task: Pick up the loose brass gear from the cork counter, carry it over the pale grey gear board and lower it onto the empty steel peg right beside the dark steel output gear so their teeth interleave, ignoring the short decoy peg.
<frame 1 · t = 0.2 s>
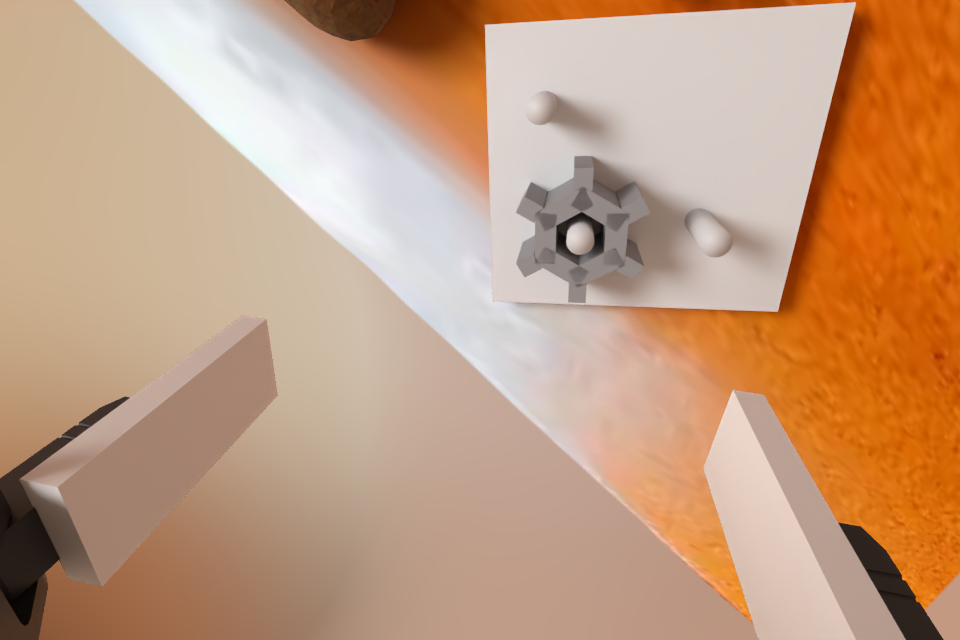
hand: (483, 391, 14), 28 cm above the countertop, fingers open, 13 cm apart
gear board: (638, 173, 37), on the countertop
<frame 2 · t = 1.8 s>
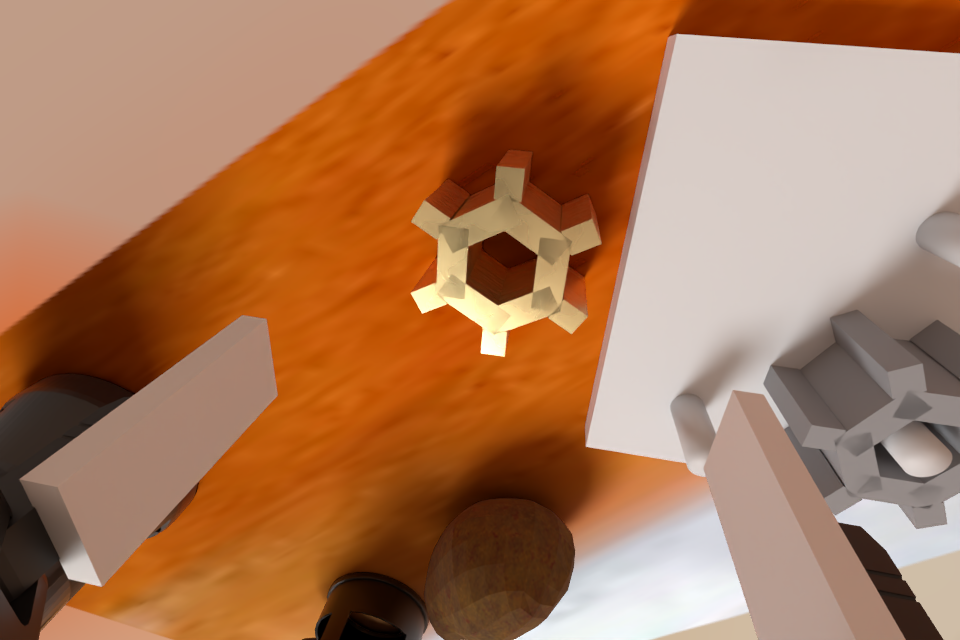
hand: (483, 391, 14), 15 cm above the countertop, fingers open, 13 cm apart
brass gear: (511, 237, 27), on the countertop
french press: (374, 605, 45), on the countertop
gear board: (812, 291, 26), on the countertop
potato: (496, 516, 37), on the countertop
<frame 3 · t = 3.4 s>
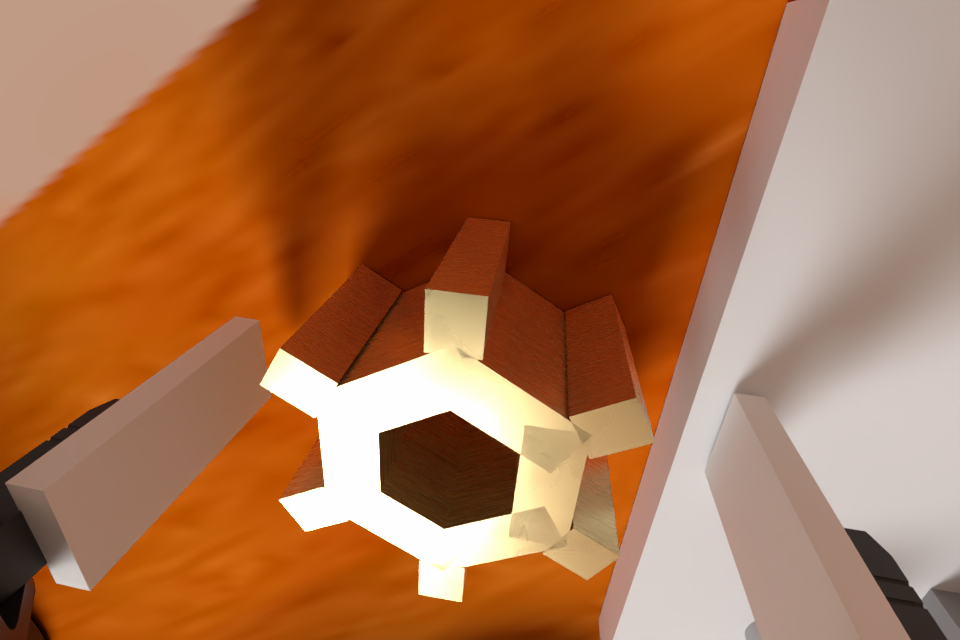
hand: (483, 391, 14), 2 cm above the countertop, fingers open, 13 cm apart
brass gear: (477, 360, 16), on the countertop
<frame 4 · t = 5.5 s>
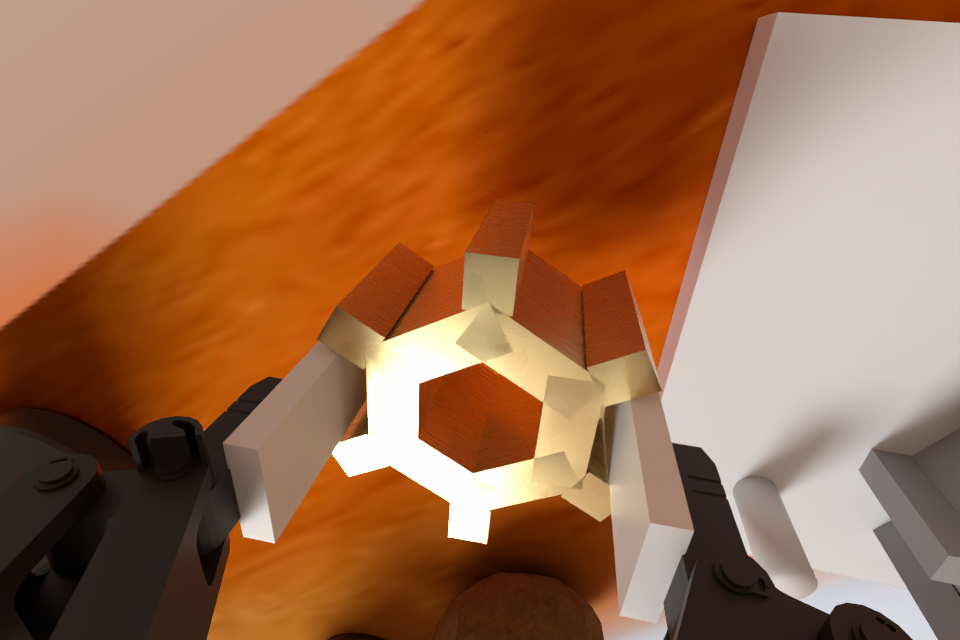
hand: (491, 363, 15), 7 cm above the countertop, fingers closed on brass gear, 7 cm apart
brass gear: (501, 331, 17), point 5 cm above the countertop, touching gripper
gear board: (930, 354, 20), on the countertop
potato: (510, 587, 32), on the countertop
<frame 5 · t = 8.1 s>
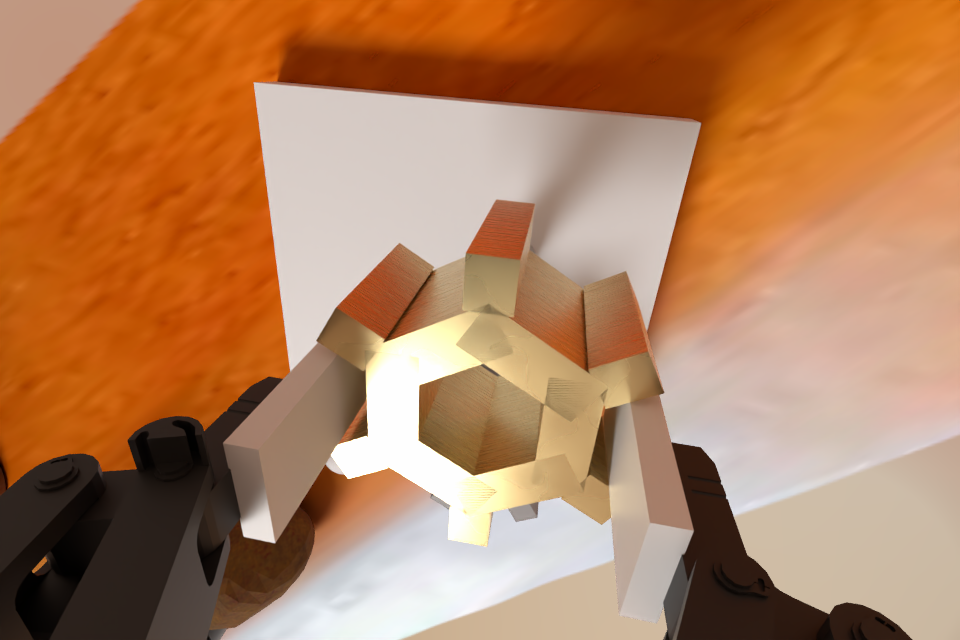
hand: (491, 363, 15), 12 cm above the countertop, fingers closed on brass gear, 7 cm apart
brass gear: (501, 332, 17), point 10 cm above the countertop, touching gripper
gear board: (461, 306, 28), on the countertop
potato: (267, 511, 40), on the countertop
when the fingers open (5 cm above the countertop, at t = 10.7 s): brass gear stays where it is, resting on gear board.
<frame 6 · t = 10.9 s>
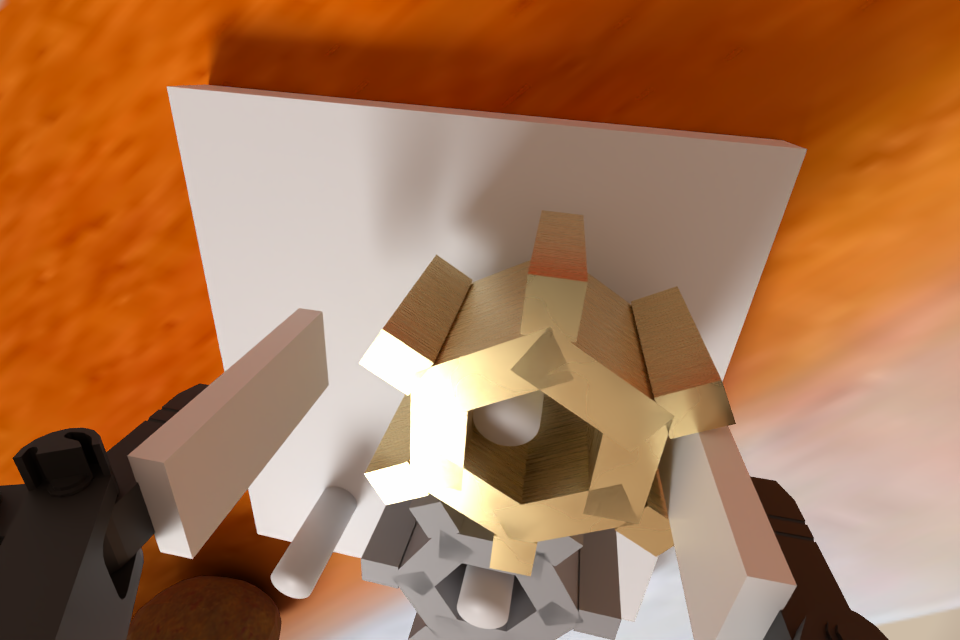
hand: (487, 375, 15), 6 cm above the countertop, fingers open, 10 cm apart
brass gear: (541, 348, 16), point 4 cm above the countertop, touching gear board, gripper
gear board: (455, 376, 22), on the countertop
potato: (230, 589, 34), on the countertop
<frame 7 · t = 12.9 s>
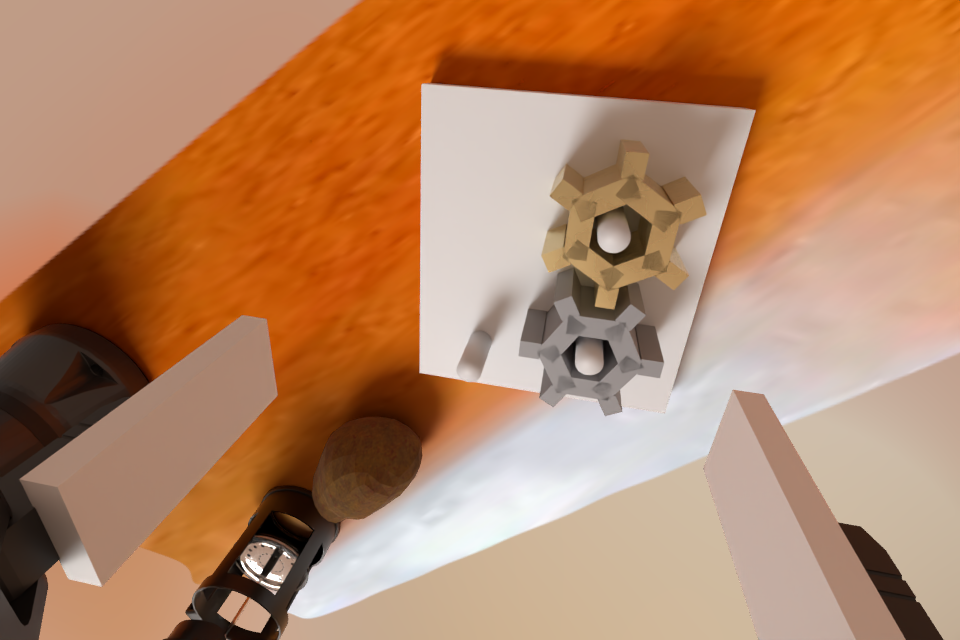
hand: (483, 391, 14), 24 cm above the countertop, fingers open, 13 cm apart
brass gear: (615, 213, 32), point 2 cm above the countertop, touching gear board
french press: (298, 515, 57), on the countertop
gear board: (557, 256, 37), on the countertop
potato: (377, 436, 49), on the countertop
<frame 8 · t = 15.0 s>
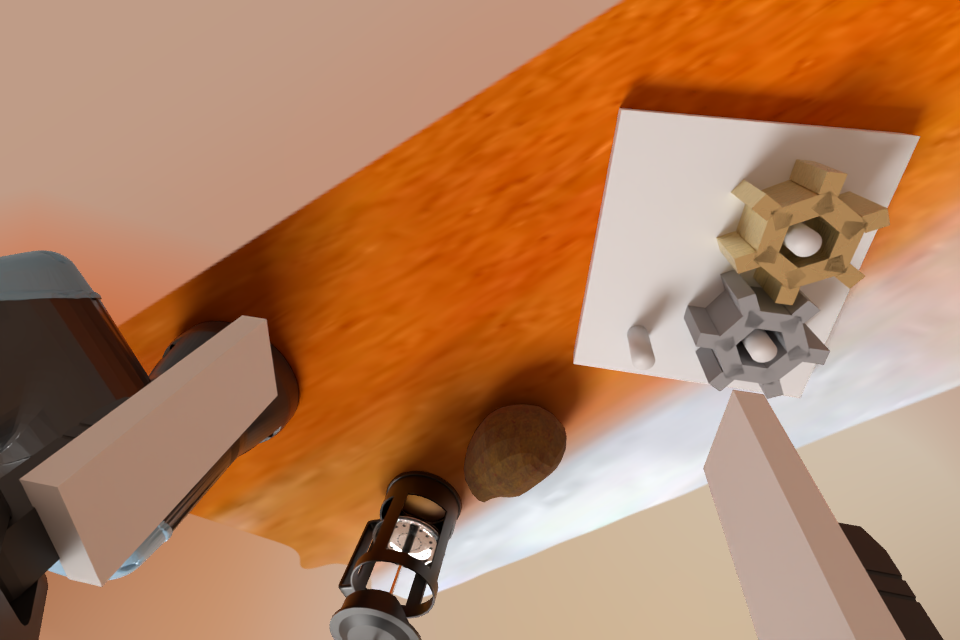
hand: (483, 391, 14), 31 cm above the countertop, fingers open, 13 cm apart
brass gear: (781, 222, 37), point 2 cm above the countertop, touching gear board
french press: (420, 499, 61), on the countertop
gear board: (713, 259, 42), on the countertop
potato: (512, 423, 53), on the countertop
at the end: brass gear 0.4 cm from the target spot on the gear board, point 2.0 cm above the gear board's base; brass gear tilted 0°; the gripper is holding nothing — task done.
